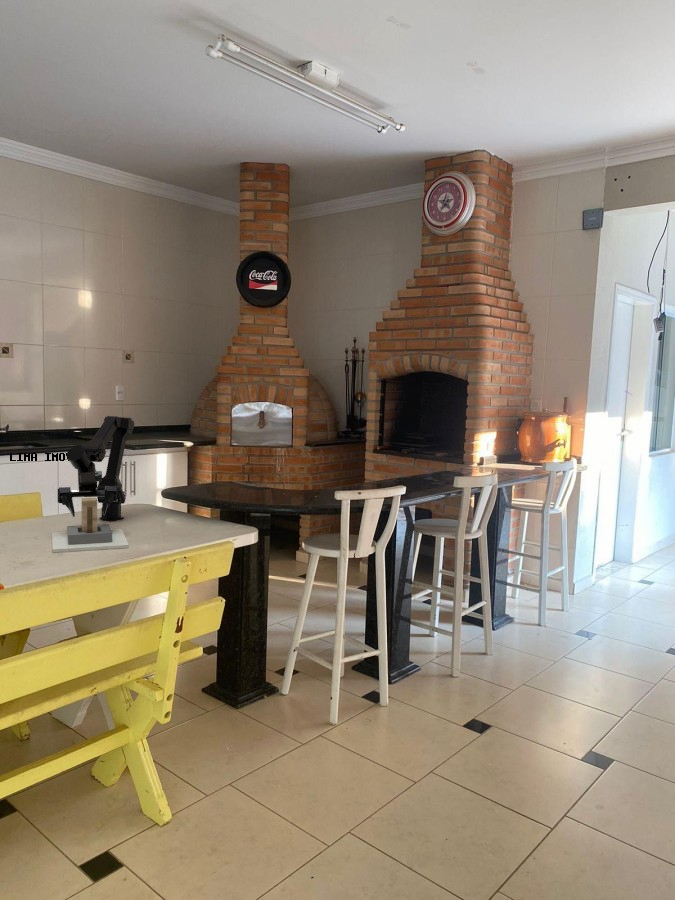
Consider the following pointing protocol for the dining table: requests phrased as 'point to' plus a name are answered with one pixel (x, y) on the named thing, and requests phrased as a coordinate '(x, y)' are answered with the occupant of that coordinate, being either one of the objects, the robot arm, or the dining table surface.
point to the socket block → (88, 539)
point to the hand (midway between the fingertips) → (89, 515)
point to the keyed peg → (89, 515)
